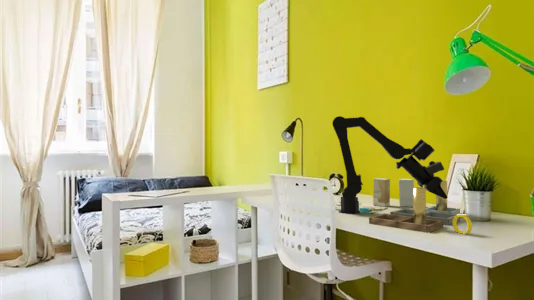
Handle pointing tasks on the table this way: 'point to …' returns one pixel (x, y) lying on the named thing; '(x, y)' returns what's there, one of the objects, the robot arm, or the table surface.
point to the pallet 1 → (405, 222)
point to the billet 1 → (419, 205)
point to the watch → (466, 221)
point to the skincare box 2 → (406, 192)
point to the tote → (449, 211)
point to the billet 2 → (442, 199)
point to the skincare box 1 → (381, 192)
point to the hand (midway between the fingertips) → (445, 197)
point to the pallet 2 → (429, 215)
